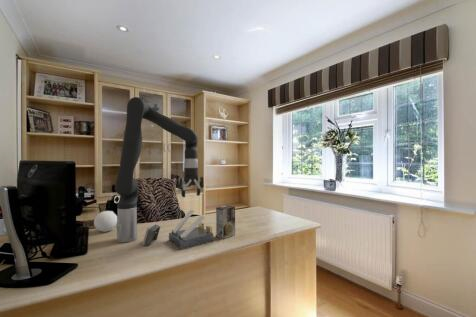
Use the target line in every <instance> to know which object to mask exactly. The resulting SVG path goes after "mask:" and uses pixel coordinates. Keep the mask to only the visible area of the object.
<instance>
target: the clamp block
mask: <svg viewBox="0 0 476 317" xmlns="http://www.w3.org/2000/svg"><path fill="white" fill-rule="evenodd" d="M187 229H188V228H185V229H182V230H181V229H180V230H179V231H178V232H176V233H175V234H174V233H173V231H174V229H173V230H172V229H171V232H169V233H168V241H169V242H170V243H171V244H172V245H174V246H175V247H176V248H178V249H179V250H181V251H182V250H185V249H188V248H193V247H195V246H200V245H203V244H207V243H212V242H214V233H213V227H212V226H210V225H206V226H205V223H204V222H203V221H201V222H200V223H199V224H198V225H197V226H196V227H195V228H194V229H193V230H192V231H191V232H190V233H189V234H188V235H187V236H186V237H182V239H181V238H180V235H181V234H182V233H183V232H184V231H185V230H187Z"/></svg>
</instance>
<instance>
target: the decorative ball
mask: <svg viewBox="0 0 476 317" xmlns="http://www.w3.org/2000/svg"><path fill="white" fill-rule="evenodd" d="M117 222H118V215H117V214H116V213H115V212H114V211H113V210H103V211H101V212H99V213H98V214H97V215H96V216H95V218H94V220H93V226H94V228H95V229H96V230H98V231H99V232H101V233H102V232H105V233H106V232H110V231H112V230H113V229H114V228H115V227H117Z"/></svg>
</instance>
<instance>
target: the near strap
mask: <svg viewBox="0 0 476 317" xmlns="http://www.w3.org/2000/svg"><path fill="white" fill-rule="evenodd" d="M204 220H205V216H203V215H200V216H199V217H198V218H196V220H195V221H194V222H193V223H192V224H190V226H188V227H187V228H186V229H187V230H186V229H184V230H185V231H184V232H183V233H182V234H181V235H180V238H181V239H182V237H186V236H187V235H188V234H189V233H190V232H191V231H192V230H193V229H194V228H195V227H198V224H199V223H200V222H203V221H204Z"/></svg>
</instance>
